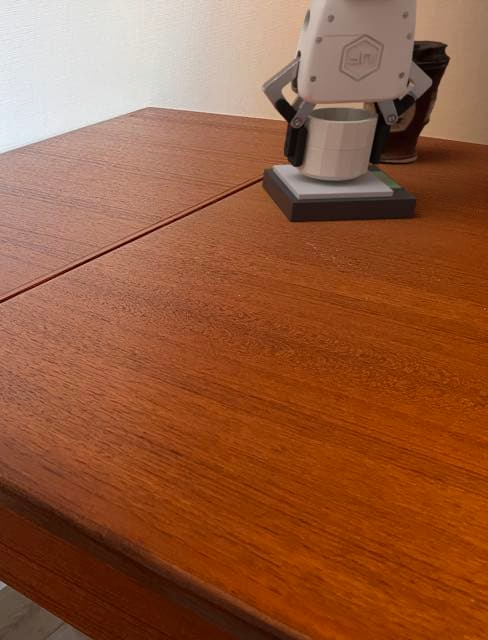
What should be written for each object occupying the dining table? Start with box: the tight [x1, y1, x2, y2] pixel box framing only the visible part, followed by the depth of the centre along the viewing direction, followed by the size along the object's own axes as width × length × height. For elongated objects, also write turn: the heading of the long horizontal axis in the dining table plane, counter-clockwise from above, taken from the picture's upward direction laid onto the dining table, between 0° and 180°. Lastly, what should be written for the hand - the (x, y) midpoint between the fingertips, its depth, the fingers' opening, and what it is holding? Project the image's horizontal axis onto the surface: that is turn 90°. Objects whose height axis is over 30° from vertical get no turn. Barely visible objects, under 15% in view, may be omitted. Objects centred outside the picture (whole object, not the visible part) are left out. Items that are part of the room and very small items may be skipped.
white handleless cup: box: [296, 105, 378, 181], centre depth 89 cm, size 7×7×6 cm
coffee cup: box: [362, 40, 451, 164], centre depth 101 cm, size 9×8×13 cm
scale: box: [261, 164, 418, 223], centre depth 91 cm, size 12×12×3 cm
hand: (332, 161), depth 90 cm, fingers closed on white handleless cup, 7 cm apart
